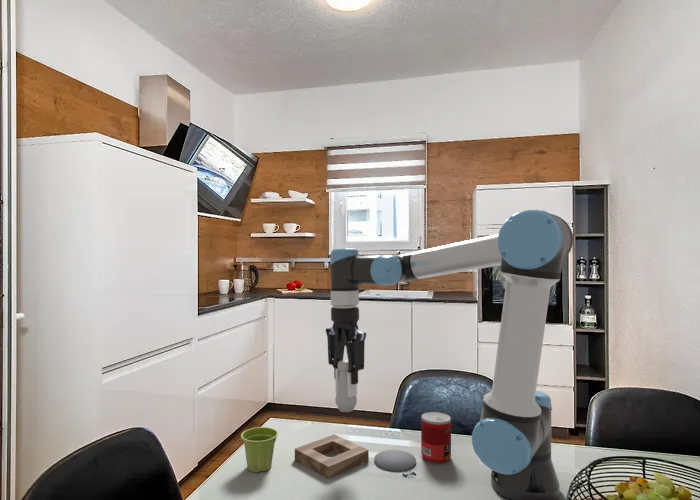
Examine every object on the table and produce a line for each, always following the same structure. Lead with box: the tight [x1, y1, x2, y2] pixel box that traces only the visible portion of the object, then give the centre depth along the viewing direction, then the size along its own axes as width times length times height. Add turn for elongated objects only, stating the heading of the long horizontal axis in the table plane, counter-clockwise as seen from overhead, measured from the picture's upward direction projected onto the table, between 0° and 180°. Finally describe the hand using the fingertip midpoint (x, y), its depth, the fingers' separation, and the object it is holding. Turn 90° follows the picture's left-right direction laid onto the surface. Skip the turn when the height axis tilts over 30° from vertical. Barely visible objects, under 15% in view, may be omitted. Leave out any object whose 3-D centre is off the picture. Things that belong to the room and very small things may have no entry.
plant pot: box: [240, 426, 279, 473], centre depth 118 cm, size 9×9×9 cm
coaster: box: [373, 449, 417, 472], centre depth 122 cm, size 11×11×1 cm
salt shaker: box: [334, 359, 358, 413], centre depth 122 cm, size 6×6×13 cm
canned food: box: [420, 411, 452, 464], centre depth 124 cm, size 8×8×11 cm
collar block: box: [294, 434, 370, 480], centre depth 122 cm, size 14×14×3 cm
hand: (346, 393), depth 122 cm, fingers closed on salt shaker, 4 cm apart
